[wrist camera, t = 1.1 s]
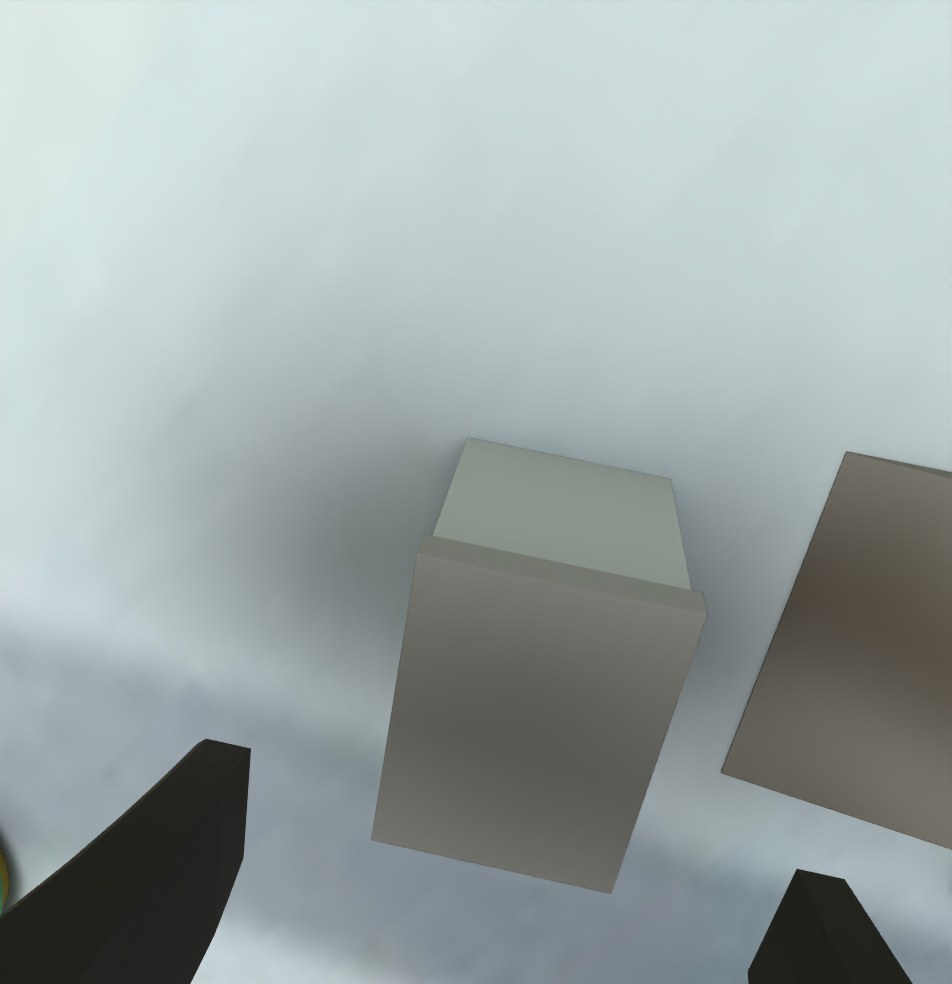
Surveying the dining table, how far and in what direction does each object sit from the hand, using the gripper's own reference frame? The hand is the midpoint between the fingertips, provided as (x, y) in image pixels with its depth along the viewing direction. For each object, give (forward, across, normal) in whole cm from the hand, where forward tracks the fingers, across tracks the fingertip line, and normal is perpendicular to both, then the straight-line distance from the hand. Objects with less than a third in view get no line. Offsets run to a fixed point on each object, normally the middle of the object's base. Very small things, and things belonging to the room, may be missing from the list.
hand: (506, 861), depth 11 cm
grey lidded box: (+8, 0, 0) cm, 8 cm away
